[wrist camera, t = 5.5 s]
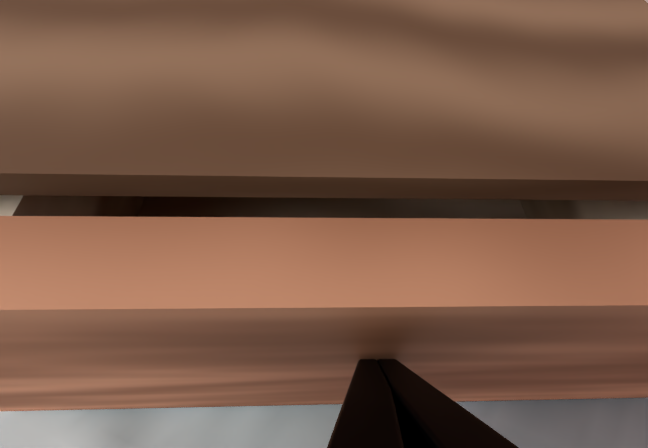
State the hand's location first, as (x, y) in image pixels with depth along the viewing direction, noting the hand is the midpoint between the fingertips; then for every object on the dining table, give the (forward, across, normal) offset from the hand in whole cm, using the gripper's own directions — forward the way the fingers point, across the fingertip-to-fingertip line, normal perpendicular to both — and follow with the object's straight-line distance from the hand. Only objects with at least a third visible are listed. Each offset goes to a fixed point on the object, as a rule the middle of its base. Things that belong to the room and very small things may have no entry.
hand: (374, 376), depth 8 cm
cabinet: (+13, 0, -3) cm, 13 cm away
